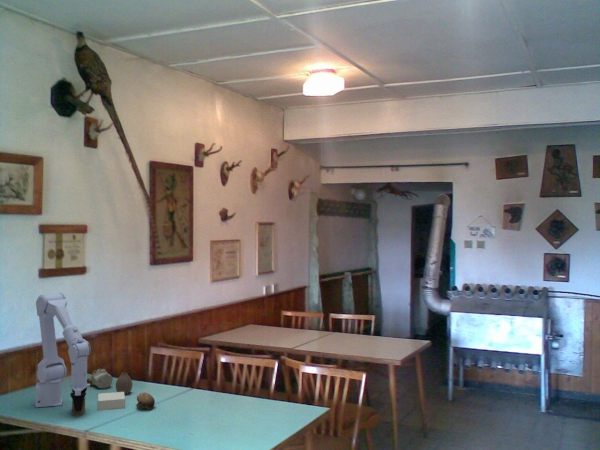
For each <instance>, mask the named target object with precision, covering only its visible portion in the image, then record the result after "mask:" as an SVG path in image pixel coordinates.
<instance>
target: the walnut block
mask: <svg viewBox="0 0 600 450" xmlns="http://www.w3.org/2000/svg"><path fill="white" fill-rule="evenodd" d="M71 406H72V407H71V415H72V416H77V415H85V413H86V397H84V400H83V405H82V410H81V411H75V408H74V403H73V399H72V401H71Z"/></svg>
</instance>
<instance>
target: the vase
mask: <svg viewBox="0 0 600 450" xmlns="http://www.w3.org/2000/svg"><path fill="white" fill-rule="evenodd" d="M132 389H133V380H132V379H131V377H130V376H129V375H128V373H127V372H121V373H120V375H119V376H118V378H117V379H116V382H115V392H124V395H125V396H127V395H128V394H130V393H131V391H132Z"/></svg>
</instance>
